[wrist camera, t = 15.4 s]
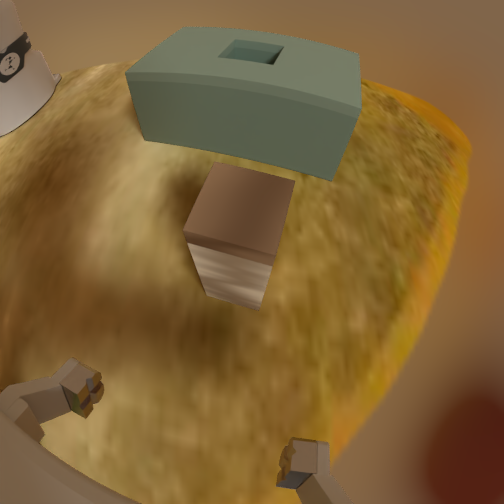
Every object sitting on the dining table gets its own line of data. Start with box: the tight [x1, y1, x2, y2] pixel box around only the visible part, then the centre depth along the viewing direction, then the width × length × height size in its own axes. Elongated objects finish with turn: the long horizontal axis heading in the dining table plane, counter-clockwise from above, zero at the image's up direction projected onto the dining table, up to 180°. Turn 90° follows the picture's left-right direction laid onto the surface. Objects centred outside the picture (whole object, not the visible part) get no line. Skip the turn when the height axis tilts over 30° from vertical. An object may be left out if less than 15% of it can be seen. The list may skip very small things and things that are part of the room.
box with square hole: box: [125, 27, 362, 181], centre depth 25 cm, size 20×12×9 cm, turn 74°
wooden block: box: [183, 162, 295, 311], centre depth 17 cm, size 4×4×10 cm
